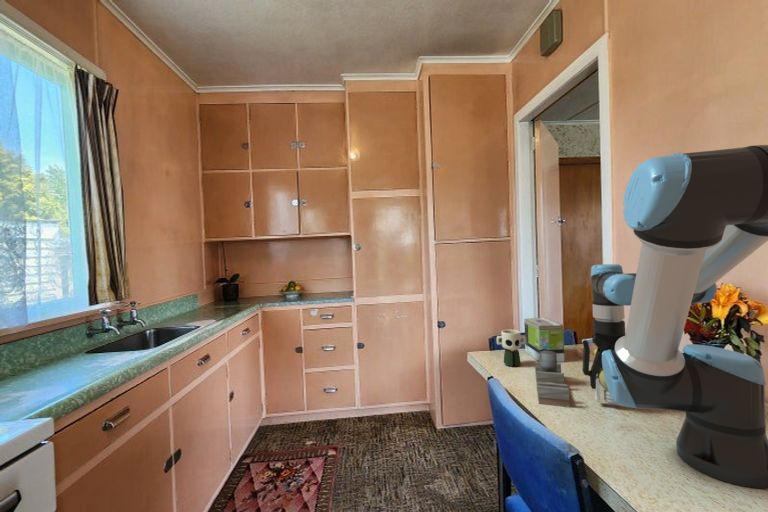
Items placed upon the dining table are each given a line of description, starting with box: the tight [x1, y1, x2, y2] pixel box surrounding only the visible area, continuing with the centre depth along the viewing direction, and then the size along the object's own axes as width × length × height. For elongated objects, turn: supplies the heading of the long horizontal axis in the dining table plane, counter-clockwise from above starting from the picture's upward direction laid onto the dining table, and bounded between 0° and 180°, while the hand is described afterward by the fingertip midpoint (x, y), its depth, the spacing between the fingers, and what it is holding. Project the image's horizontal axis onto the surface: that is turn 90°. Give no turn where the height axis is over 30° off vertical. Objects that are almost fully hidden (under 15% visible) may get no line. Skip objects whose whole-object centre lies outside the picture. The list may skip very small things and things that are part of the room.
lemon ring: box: [576, 345, 598, 362], centre depth 140 cm, size 14×14×2 cm
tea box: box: [523, 317, 565, 363], centre depth 142 cm, size 15×10×15 cm, turn 179°
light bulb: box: [598, 368, 618, 405], centre depth 97 cm, size 6×6×10 cm
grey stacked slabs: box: [534, 351, 571, 408], centre depth 111 cm, size 24×8×10 cm, turn 158°
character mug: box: [496, 329, 526, 367], centre depth 135 cm, size 11×7×13 cm, turn 84°
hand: (612, 401), depth 97 cm, fingers closed on light bulb, 6 cm apart
